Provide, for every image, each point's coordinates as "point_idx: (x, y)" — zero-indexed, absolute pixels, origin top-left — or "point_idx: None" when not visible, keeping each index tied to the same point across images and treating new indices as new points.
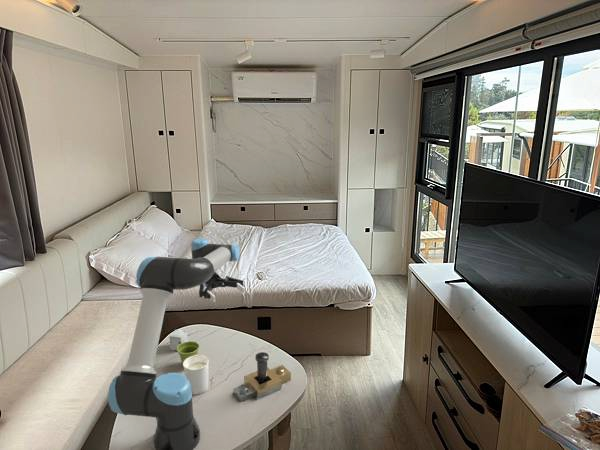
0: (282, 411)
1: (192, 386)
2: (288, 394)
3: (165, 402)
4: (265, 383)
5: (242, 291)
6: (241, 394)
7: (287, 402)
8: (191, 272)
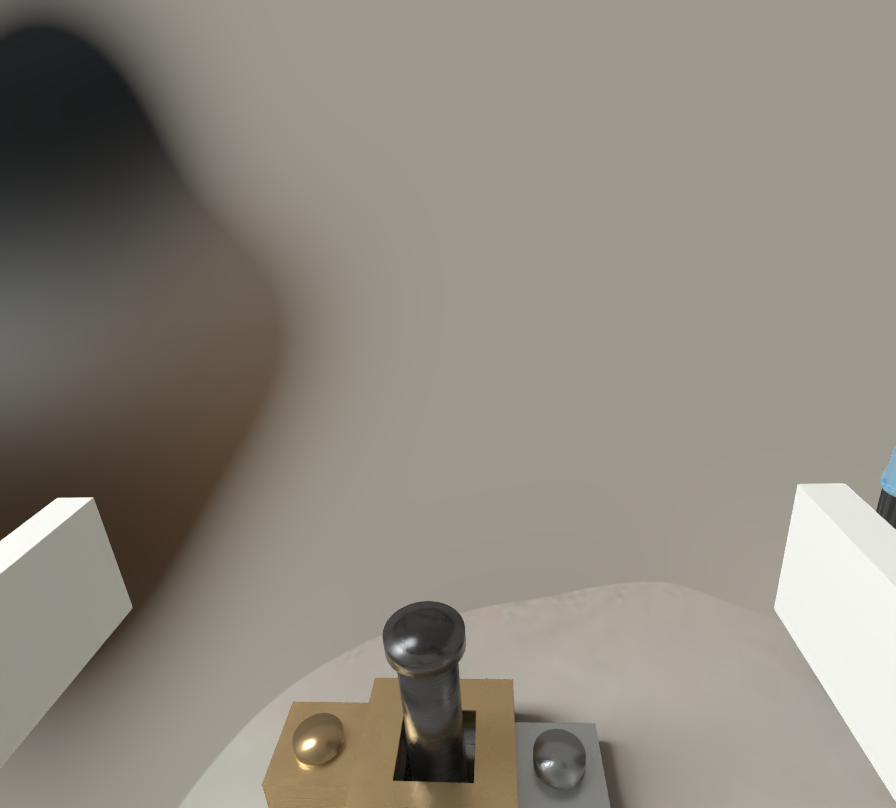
0: (467, 612)
1: None
2: (386, 665)
3: None
4: None
5: (75, 626)
6: (583, 742)
7: None
8: None
